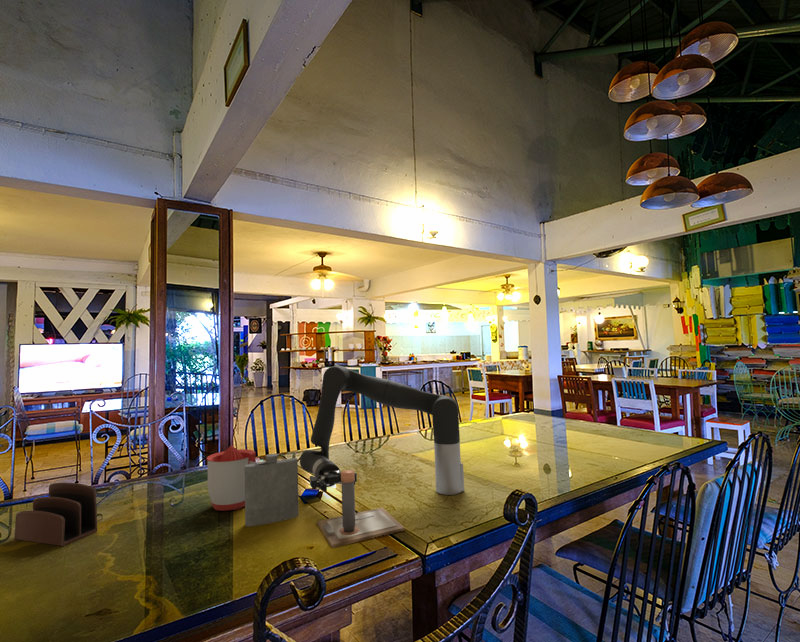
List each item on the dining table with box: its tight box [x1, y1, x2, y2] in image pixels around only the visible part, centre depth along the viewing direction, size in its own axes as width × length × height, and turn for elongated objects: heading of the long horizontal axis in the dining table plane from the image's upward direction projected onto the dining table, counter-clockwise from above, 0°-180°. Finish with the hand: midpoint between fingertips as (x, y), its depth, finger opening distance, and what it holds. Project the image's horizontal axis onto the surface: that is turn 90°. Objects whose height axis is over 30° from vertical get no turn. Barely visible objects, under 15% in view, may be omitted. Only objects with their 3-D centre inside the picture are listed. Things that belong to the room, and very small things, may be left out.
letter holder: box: [14, 482, 98, 547], centre depth 124 cm, size 10×20×14 cm, turn 73°
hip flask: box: [244, 453, 300, 527], centre depth 129 cm, size 16×4×20 cm, turn 115°
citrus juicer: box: [206, 445, 257, 512], centre depth 143 cm, size 16×17×20 cm
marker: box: [340, 469, 356, 532], centre depth 118 cm, size 4×4×16 cm
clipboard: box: [316, 507, 406, 549], centre depth 121 cm, size 21×17×2 cm
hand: (339, 485), depth 126 cm, fingers open, 8 cm apart
